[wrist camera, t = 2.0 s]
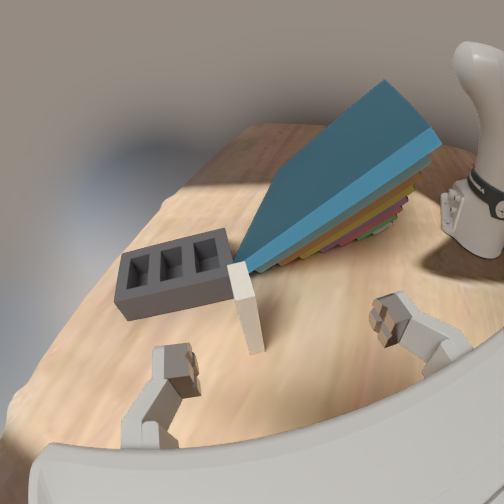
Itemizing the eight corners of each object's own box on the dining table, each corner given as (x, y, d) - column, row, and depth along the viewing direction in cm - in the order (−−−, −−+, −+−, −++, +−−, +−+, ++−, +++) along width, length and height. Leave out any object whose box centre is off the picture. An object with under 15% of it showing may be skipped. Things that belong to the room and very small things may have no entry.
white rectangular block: (242, 324, 38) (226, 265, 30) (256, 321, 38) (244, 261, 30) (250, 355, 35) (235, 300, 26) (265, 351, 35) (255, 295, 27)
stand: (132, 273, 48) (121, 253, 45) (229, 249, 50) (224, 227, 47) (127, 321, 40) (113, 302, 37) (241, 296, 42) (236, 274, 39)
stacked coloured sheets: (303, 328, 49) (491, 242, 25) (227, 272, 44) (430, 126, 20) (325, 215, 72) (432, 140, 48) (277, 170, 67) (384, 79, 43)
